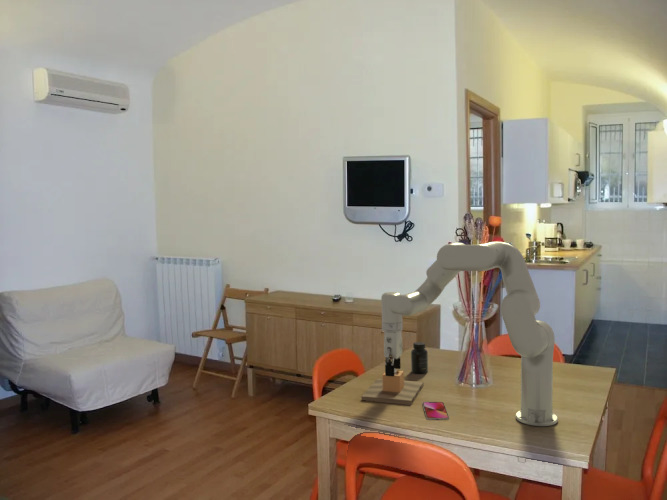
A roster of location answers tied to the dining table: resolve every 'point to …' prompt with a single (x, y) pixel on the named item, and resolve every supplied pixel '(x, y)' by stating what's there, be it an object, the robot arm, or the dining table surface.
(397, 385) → the hollow wooden cube
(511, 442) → the dining table surface
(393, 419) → the dining table surface
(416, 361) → the supplement bottle
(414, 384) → the board
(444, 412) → the smartphone
